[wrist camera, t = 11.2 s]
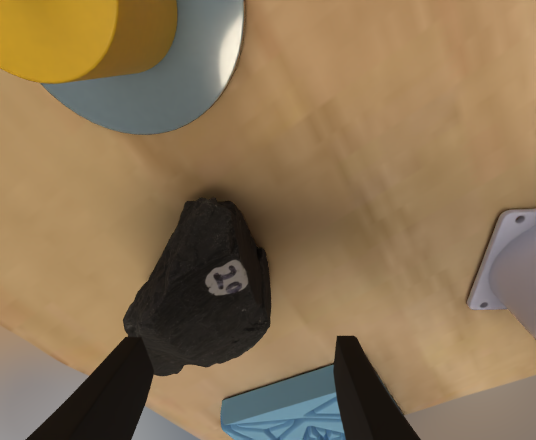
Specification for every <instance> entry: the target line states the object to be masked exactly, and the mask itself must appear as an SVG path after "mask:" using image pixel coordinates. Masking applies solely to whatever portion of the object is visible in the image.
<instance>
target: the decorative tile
mask: <svg viewBox="0 0 536 440" xmlns="http://www.w3.org/2000/svg"><path fill="white" fill-rule="evenodd" d="M333 368H334V364H333V365H330V366H327V367H324V368H321V369H318V370H315V371H312V372H309V373H306V374H303V375H300V376H296V377H293V378H290V379H287V380H284V381H281V382H278V383H275V384H272V385H269V386H266V387H262V388H259V389H256V390H253V391H250V392H247V393H244V394H241V395H238V396H235V397H232V398H228V399H225V400H223V401H222V407H221V413H220V414H221V427H222V430H223V431H224V432H225V433H227V434H228V435H229V436H230V437H232V438H233V439H234V440H346V438H345V434H344V429H343V425H342V421H341V416H340V412H339V407H338V403H337V396H336V389H335V381H334V374H333ZM374 371H375V370H374ZM377 376H378V375H377ZM379 379H380V378H379ZM380 381H381V380H380ZM381 382H382V381H381ZM382 384H383V383H382ZM383 385H384V384H383ZM384 387H385V386H384ZM385 388H386V387H385ZM386 390H387V389H386ZM387 392H388V391H387ZM388 393H389V392H388ZM389 395H390V394H389ZM390 396H391V395H390ZM391 398H392V397H391ZM392 399H393V398H392ZM393 401H394V400H393ZM394 402H395V401H394ZM395 404H396V403H395ZM396 405H397V404H396ZM397 407H398V406H397ZM399 410H400V409H399ZM401 413H402V412H401ZM403 416H404V415H403Z"/></svg>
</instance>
